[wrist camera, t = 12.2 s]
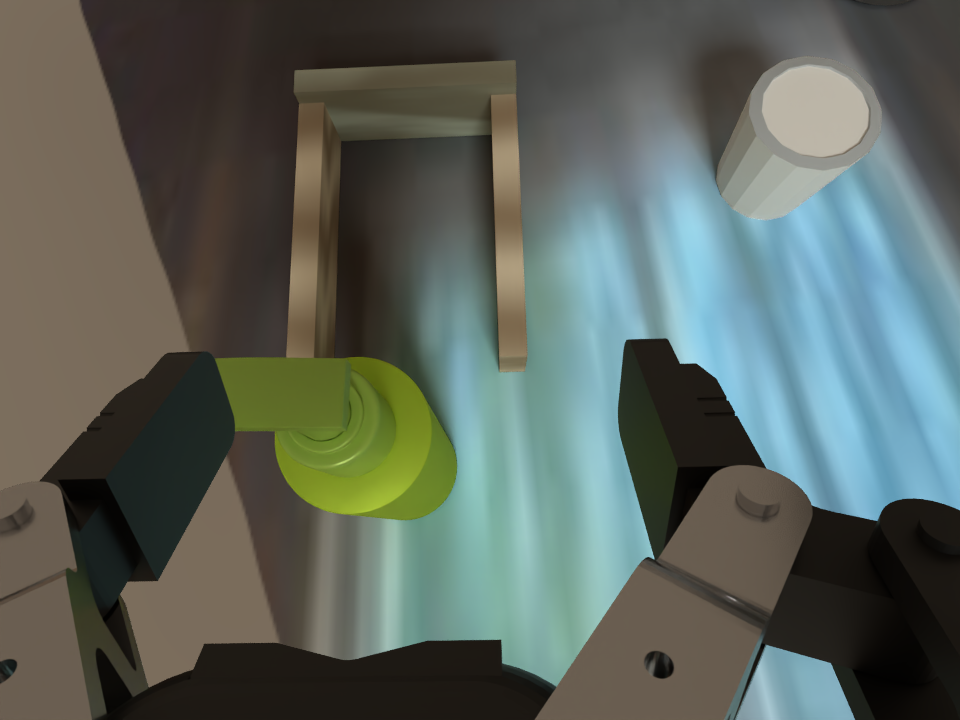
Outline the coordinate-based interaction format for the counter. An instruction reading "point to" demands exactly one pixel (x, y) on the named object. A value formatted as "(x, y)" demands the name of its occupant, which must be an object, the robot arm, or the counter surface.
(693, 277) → the counter surface
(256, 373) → the soap dispenser
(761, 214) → the shot glass
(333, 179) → the shelf
